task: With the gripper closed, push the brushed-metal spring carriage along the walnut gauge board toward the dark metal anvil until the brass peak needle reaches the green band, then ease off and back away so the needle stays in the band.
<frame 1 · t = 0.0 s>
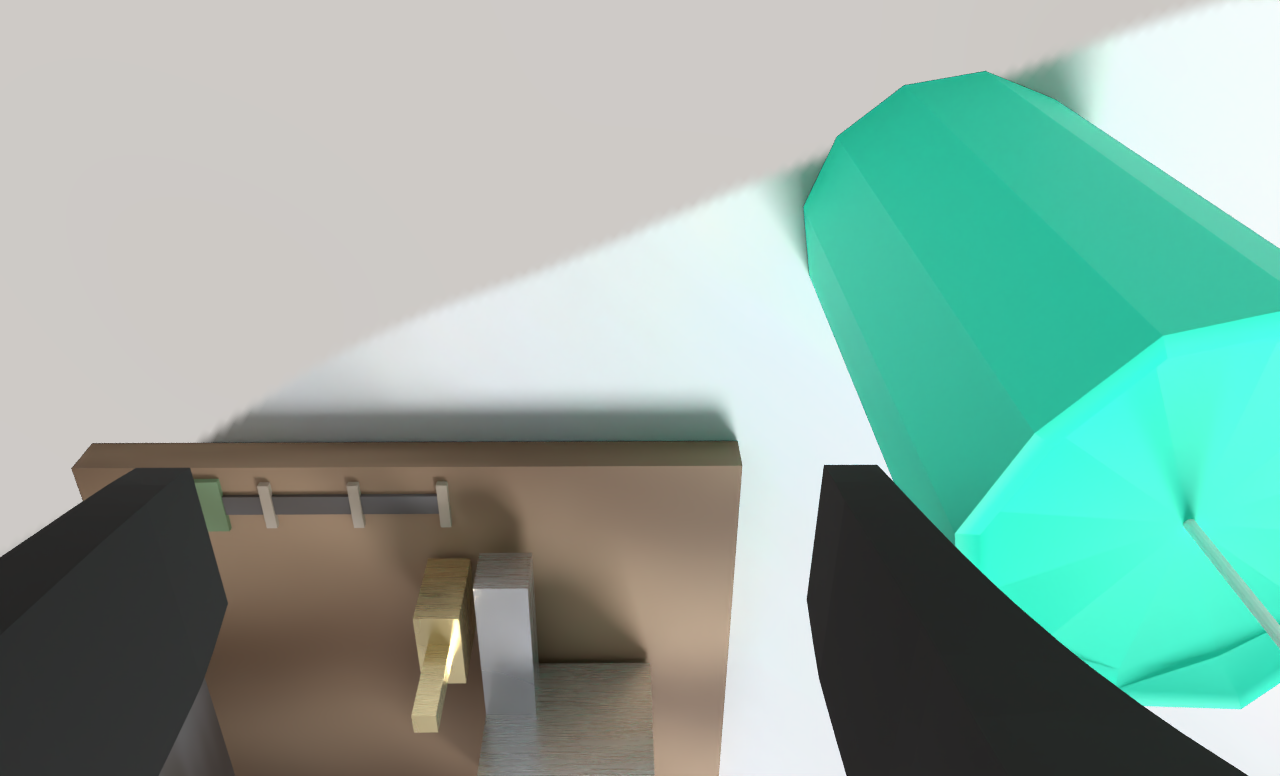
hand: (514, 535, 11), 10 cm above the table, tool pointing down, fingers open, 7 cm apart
gauge carriage: (569, 732, 24), point 3 cm above the table, slide at 0.0 cm
peak needle: (440, 652, 22), point 3 cm above the table, slide at 0.0 cm
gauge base: (443, 643, 26), on the table
candle: (943, 215, 20), on the table
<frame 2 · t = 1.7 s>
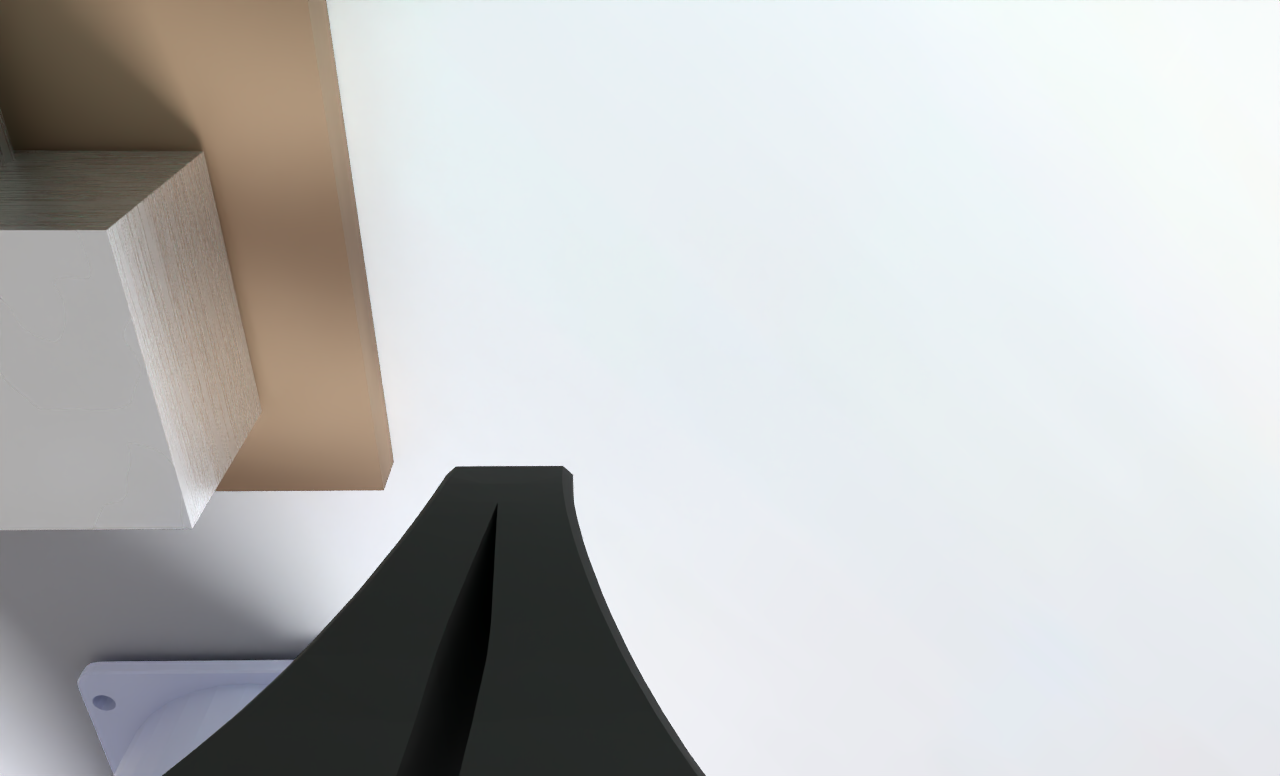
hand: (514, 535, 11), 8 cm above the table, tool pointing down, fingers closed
gauge carriage: (33, 218, 15), point 3 cm above the table, slide at 0.0 cm
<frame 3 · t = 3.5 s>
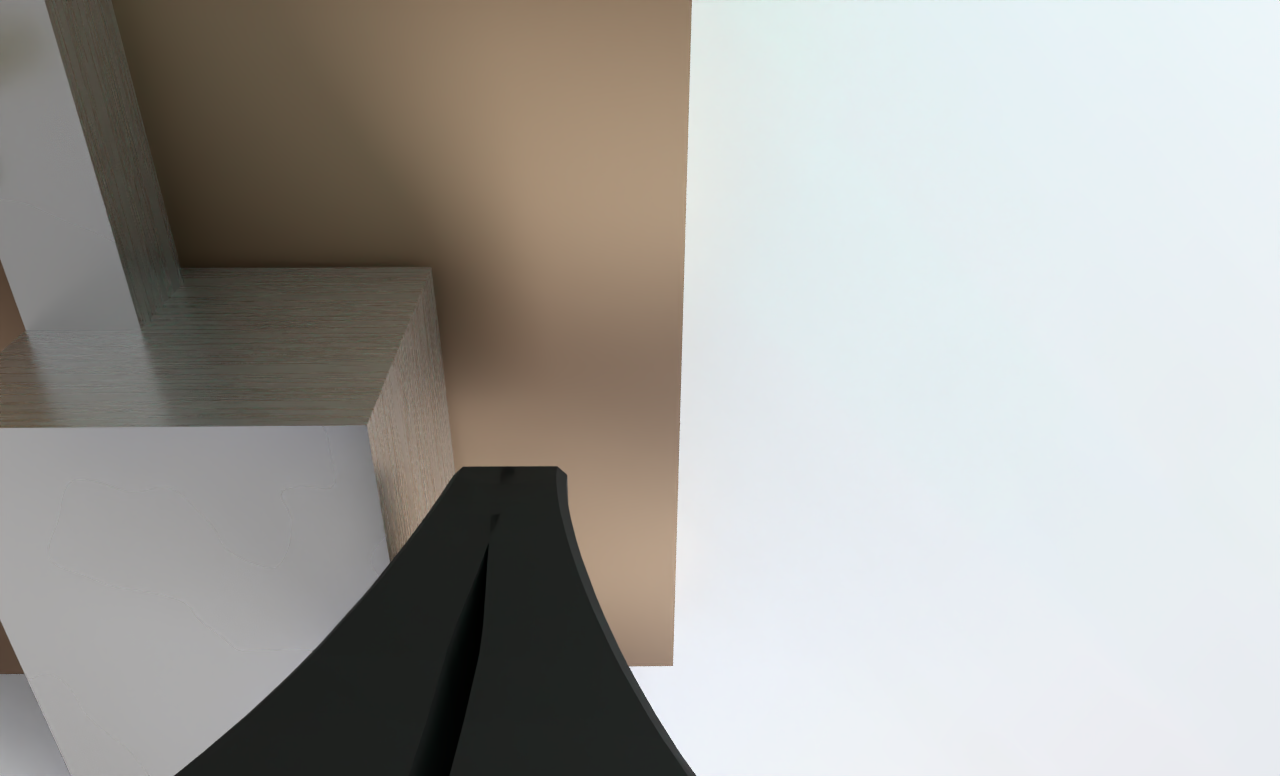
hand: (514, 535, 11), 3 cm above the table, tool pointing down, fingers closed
gauge carriage: (222, 376, 10), point 3 cm above the table, slide at 1.1 cm, touching gripper, peak needle
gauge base: (114, 266, 13), on the table
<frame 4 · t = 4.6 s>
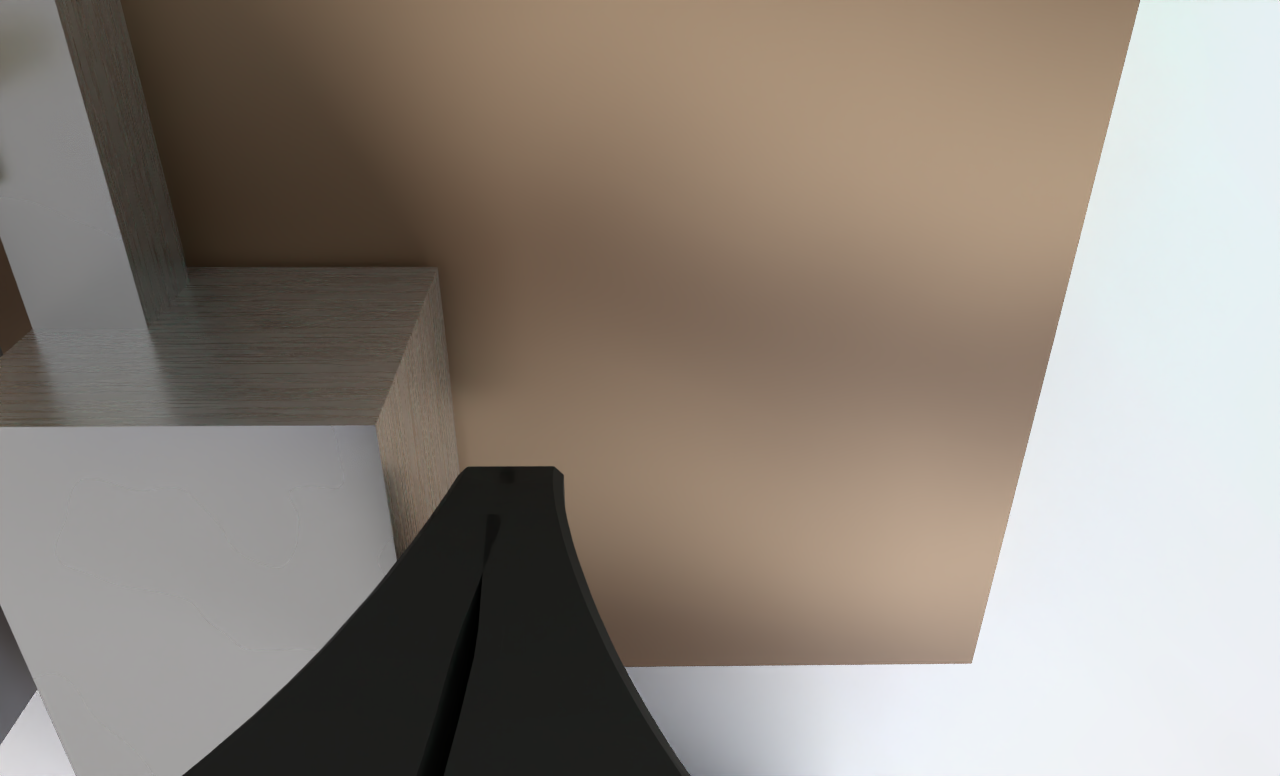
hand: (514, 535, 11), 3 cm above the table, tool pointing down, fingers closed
gauge carriage: (229, 376, 10), point 3 cm above the table, slide at 5.8 cm, touching gripper, peak needle
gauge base: (479, 265, 13), on the table
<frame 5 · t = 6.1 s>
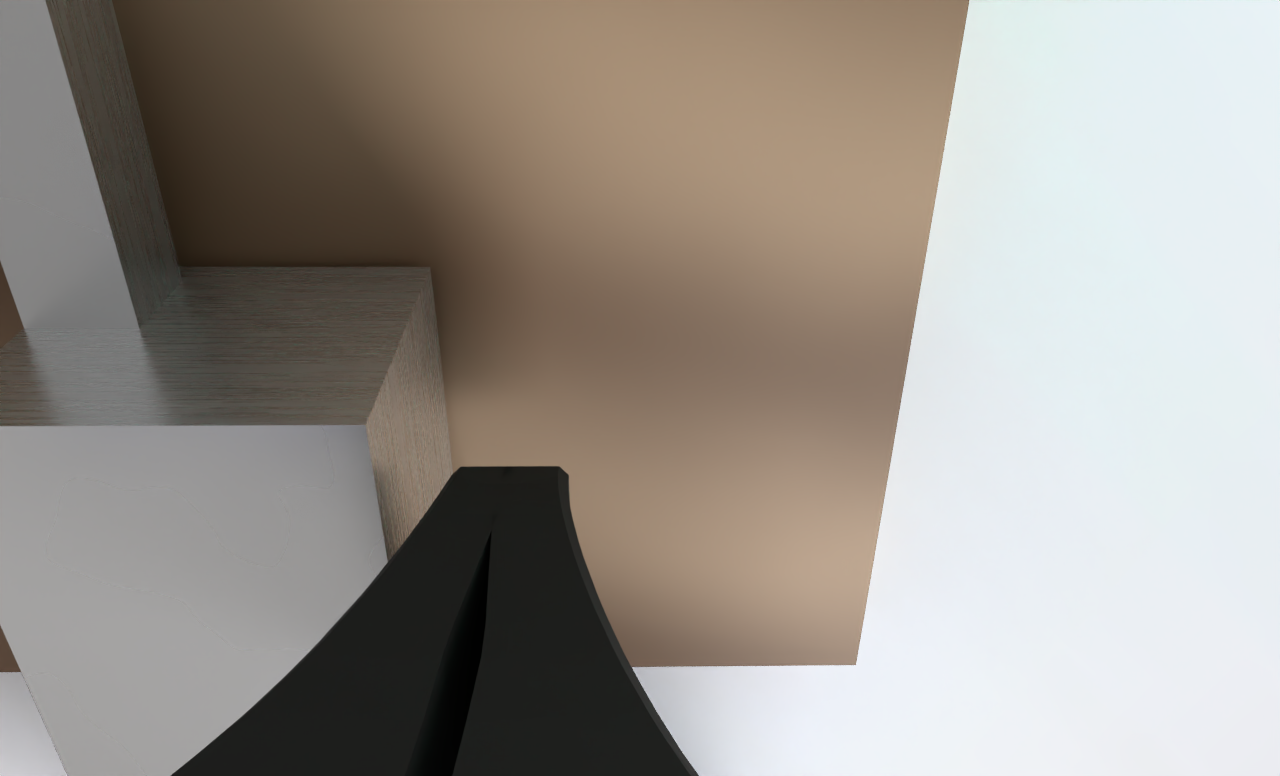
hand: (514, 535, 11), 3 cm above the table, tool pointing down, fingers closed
gauge carriage: (220, 375, 10), point 3 cm above the table, slide at 4.0 cm, touching gripper
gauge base: (339, 265, 13), on the table
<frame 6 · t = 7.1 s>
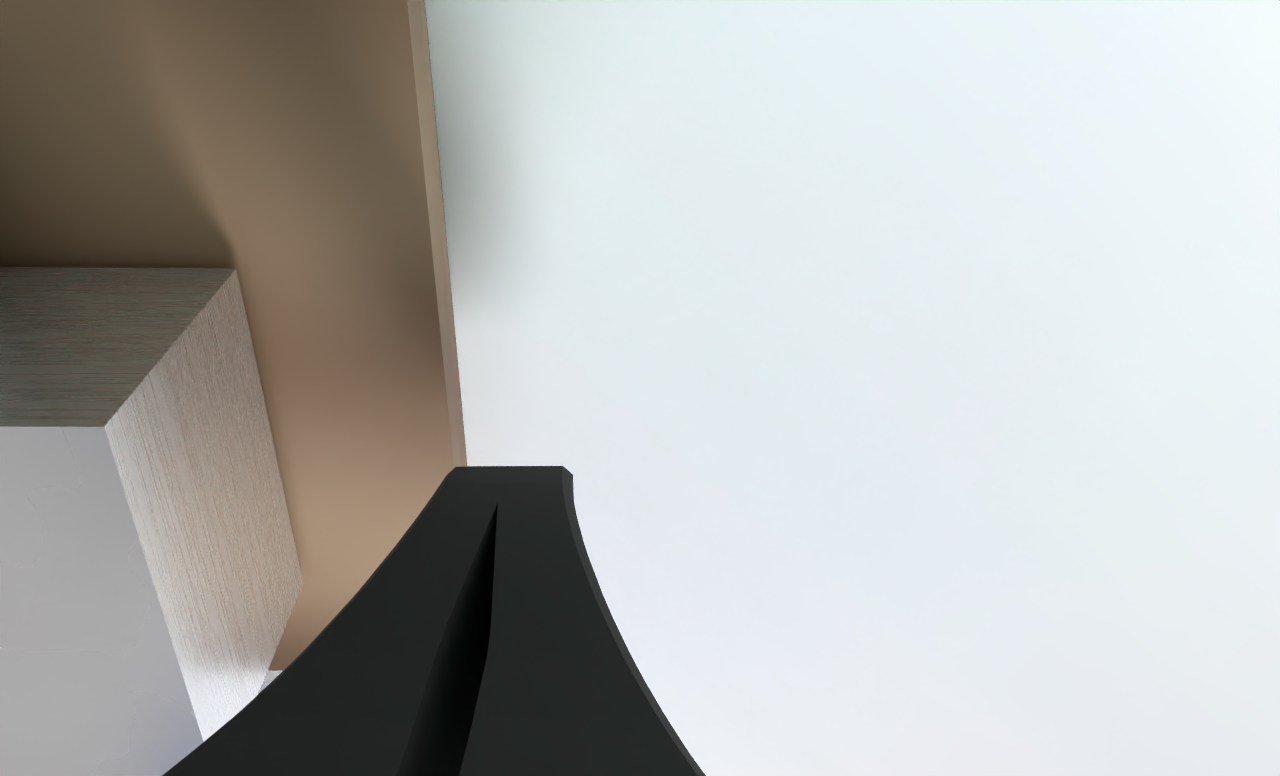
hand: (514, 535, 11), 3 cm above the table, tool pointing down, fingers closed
gauge carriage: (1, 376, 10), point 3 cm above the table, slide at 0.3 cm
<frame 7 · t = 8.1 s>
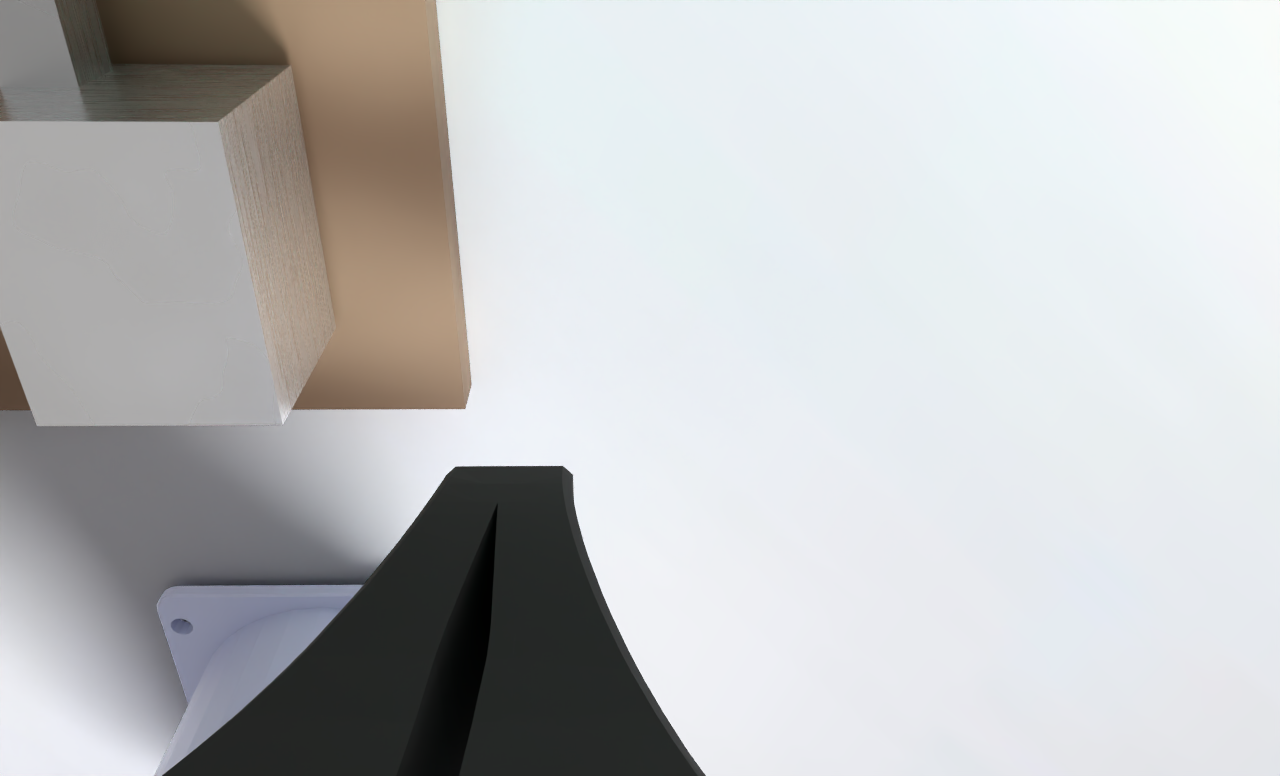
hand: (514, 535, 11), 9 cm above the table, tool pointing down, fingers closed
gauge carriage: (135, 122, 15), point 3 cm above the table, slide at 0.3 cm
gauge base: (27, 77, 18), on the table
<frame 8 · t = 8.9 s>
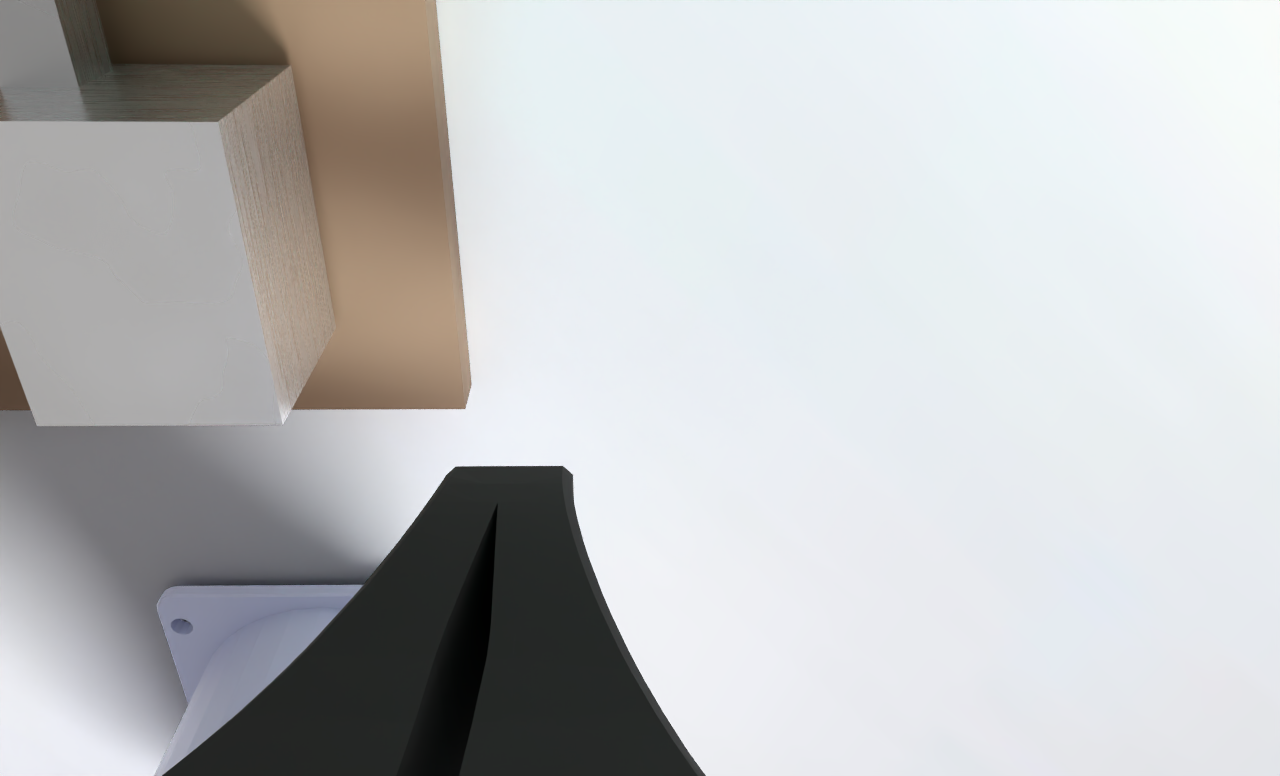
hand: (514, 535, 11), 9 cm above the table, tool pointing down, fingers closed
gauge carriage: (135, 122, 15), point 3 cm above the table, slide at 0.3 cm
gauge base: (27, 77, 18), on the table
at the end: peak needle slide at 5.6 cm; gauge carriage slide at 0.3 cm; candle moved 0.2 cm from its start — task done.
